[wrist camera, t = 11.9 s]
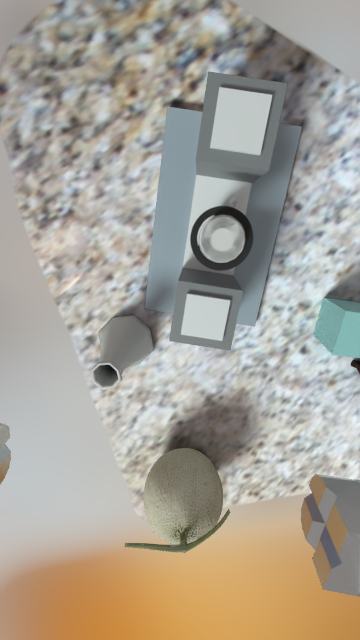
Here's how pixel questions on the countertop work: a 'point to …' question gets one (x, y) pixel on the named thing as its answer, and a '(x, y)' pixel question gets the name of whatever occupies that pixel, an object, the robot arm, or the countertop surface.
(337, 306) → the block
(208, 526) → the fruit
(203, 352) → the countertop surface
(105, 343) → the flask
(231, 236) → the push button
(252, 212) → the gray block stand
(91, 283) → the countertop surface
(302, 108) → the countertop surface
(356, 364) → the mate gourd
